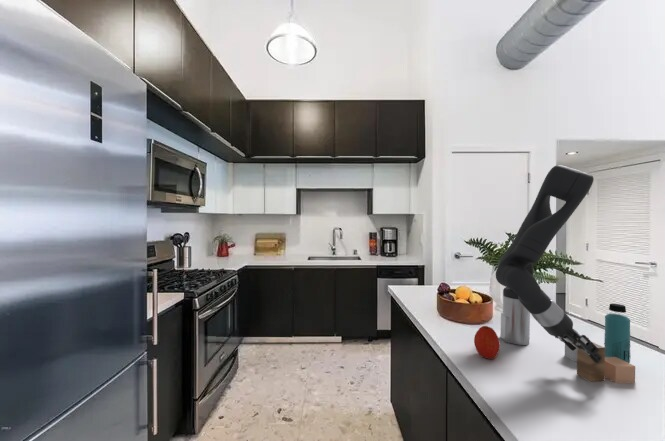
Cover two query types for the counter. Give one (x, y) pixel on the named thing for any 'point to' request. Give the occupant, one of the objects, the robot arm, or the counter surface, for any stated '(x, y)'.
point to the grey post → (571, 352)
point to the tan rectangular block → (591, 365)
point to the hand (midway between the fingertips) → (586, 354)
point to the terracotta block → (619, 370)
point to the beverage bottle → (617, 334)
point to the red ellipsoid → (487, 342)
